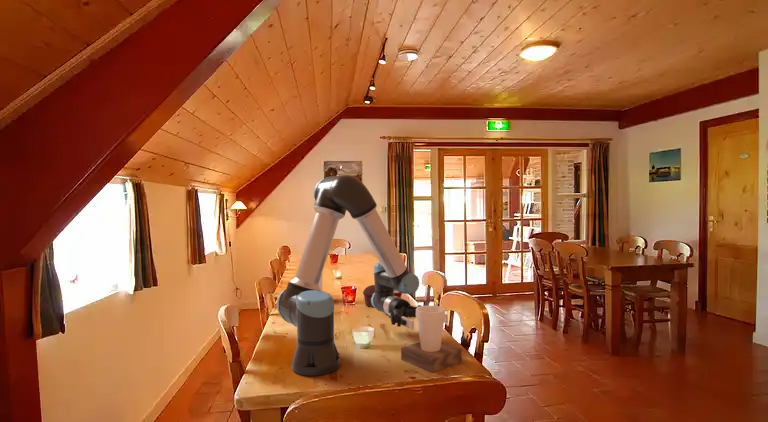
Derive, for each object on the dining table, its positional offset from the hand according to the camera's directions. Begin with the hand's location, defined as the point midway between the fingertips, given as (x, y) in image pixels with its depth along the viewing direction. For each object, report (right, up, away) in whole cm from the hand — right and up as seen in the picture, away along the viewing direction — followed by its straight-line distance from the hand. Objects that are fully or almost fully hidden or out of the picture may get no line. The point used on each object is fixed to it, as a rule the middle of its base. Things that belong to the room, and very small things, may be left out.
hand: (430, 322), depth 142 cm
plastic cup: (-11, -11, +56) cm, 58 cm away
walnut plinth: (0, -13, 0) cm, 13 cm away
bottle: (-53, -11, +81) cm, 97 cm away
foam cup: (0, -9, 0) cm, 9 cm away
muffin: (-20, -11, +73) cm, 76 cm away
